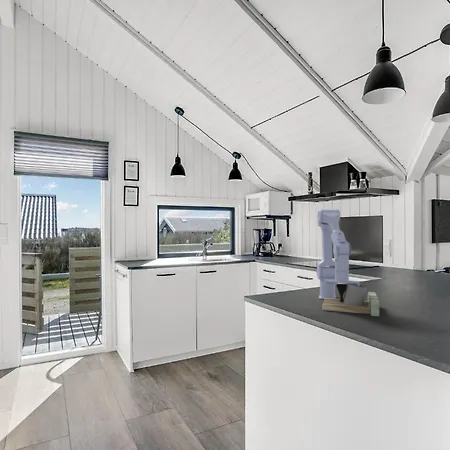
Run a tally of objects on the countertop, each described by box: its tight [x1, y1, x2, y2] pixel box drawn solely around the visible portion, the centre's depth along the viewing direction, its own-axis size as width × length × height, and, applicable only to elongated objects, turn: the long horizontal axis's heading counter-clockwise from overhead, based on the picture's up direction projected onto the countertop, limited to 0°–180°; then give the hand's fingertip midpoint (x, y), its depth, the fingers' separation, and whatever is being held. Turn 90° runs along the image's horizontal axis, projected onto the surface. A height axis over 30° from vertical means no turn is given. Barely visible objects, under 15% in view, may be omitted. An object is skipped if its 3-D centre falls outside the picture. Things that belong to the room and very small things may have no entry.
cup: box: [342, 283, 367, 306], centre depth 152 cm, size 8×8×10 cm
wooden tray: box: [321, 291, 380, 317], centre depth 152 cm, size 20×22×6 cm
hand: (341, 301), depth 153 cm, fingers closed, pressing on cup
